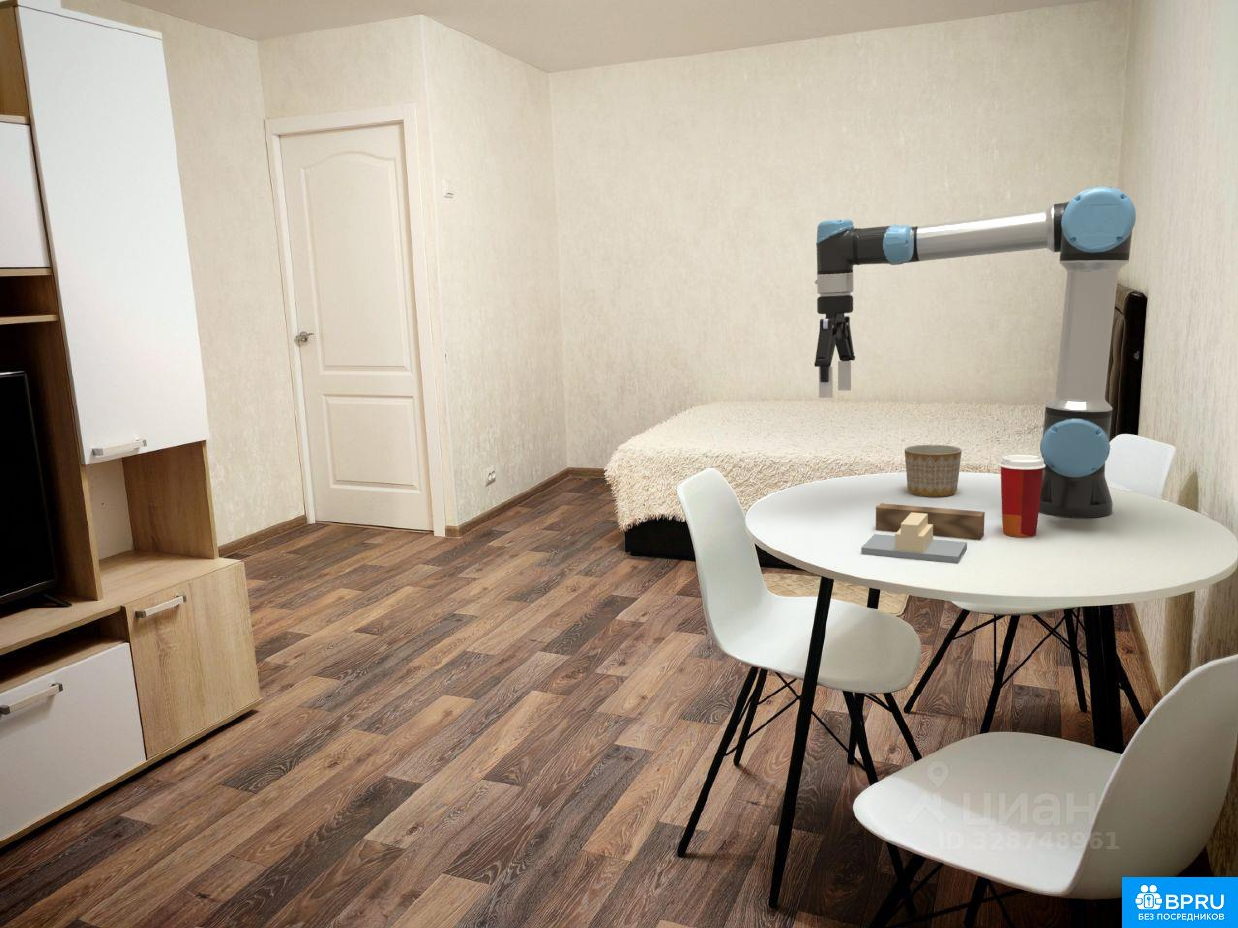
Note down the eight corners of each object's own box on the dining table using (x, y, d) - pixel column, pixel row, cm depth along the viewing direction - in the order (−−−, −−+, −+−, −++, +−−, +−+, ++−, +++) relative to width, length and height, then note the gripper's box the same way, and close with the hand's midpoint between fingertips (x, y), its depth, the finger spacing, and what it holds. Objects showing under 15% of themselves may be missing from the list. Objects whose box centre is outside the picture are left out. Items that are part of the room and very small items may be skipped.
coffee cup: (1040, 528, 178) (1043, 454, 175) (1044, 540, 171) (1048, 462, 168) (994, 527, 181) (996, 453, 178) (997, 538, 173) (999, 461, 171)
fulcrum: (966, 548, 167) (967, 516, 166) (957, 563, 159) (958, 529, 158) (874, 539, 176) (874, 509, 175) (861, 553, 167) (861, 521, 166)
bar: (983, 536, 176) (984, 511, 175) (979, 541, 172) (980, 516, 172) (881, 526, 186) (881, 503, 185) (875, 531, 183) (875, 507, 182)
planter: (921, 484, 222) (921, 442, 220) (970, 491, 212) (971, 447, 211) (893, 494, 213) (894, 450, 211) (943, 501, 204) (944, 456, 202)
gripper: (835, 294, 205) (835, 387, 209) (798, 297, 184) (799, 400, 188) (868, 292, 201) (868, 387, 205) (834, 295, 180) (835, 401, 184)
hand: (835, 394), depth 196 cm, fingers open, 13 cm apart
